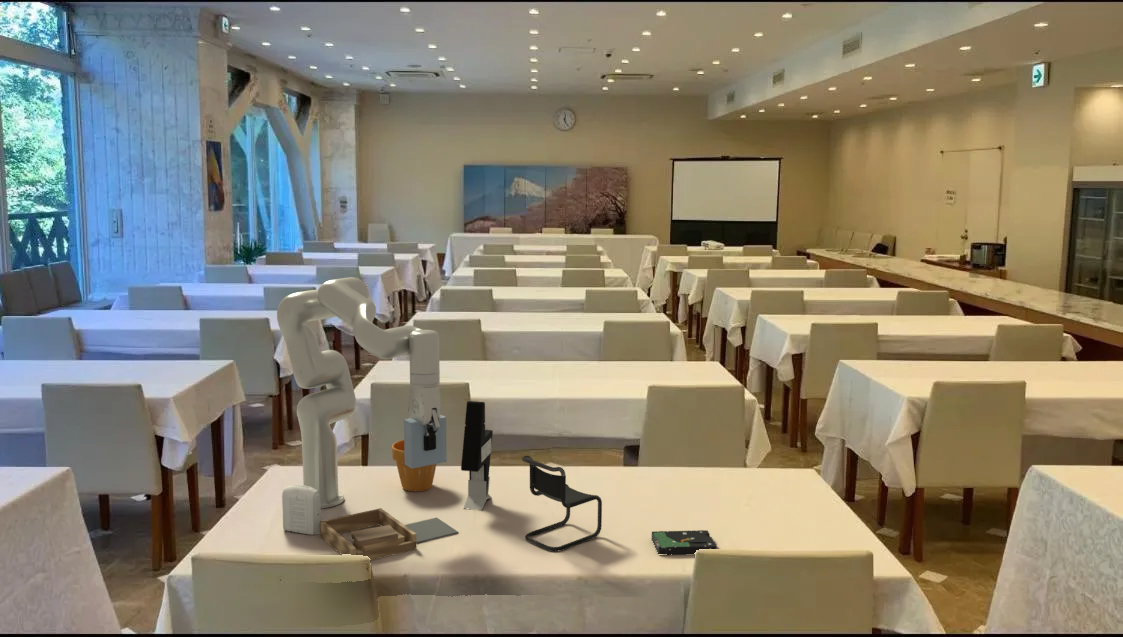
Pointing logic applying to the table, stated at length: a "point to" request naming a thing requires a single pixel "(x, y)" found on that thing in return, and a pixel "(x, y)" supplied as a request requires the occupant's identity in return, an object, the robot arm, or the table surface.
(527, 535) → the chair
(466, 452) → the award
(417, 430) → the rectangular block
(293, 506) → the white rounded tombstone
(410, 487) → the flower pot
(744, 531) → the table surface
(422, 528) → the mat
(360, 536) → the offcut stack
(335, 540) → the wooden frame
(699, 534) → the disk drive
